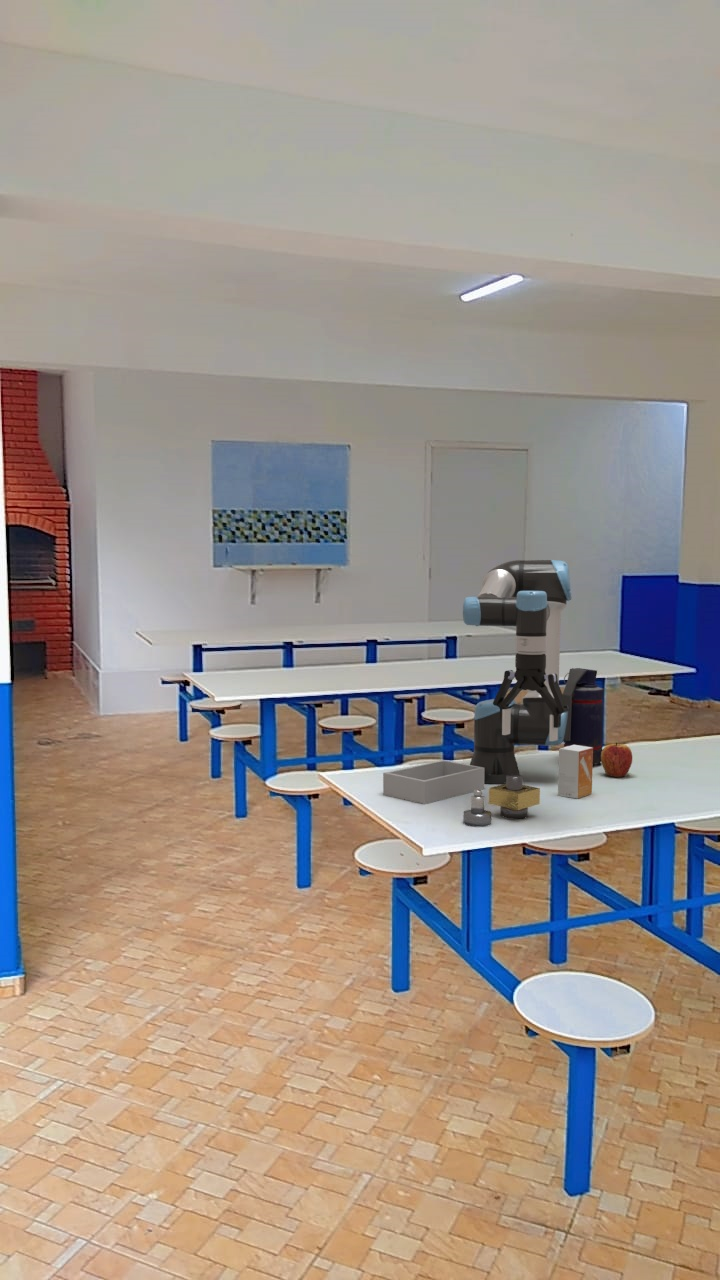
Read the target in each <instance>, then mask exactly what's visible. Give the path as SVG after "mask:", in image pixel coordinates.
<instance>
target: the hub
mask: <svg viewBox="0 0 720 1280" xmlns="http://www.w3.org/2000/svg"><path fill="white" fill-rule="evenodd" d="M492 814H493V813H492V812H491V811H489V810H486V809H485V796H484V795H482V790H474V792H473V794H472V795H471V797H470V809H466V810H464V811H463V815H462V817H463V822H462V823H463V824H464V825H466V826H469V825H470V827H476V826H482V827H489V826H491V825H492V817H493V816H492ZM488 825H489V826H488Z"/></svg>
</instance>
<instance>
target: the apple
mask: <svg viewBox="0 0 720 1280" xmlns="http://www.w3.org/2000/svg"><path fill="white" fill-rule="evenodd" d="M632 763H633V754H632V750H631V748H630V746H628V745H627V744H624V743H623V744H618V742H615V743H611V744H610V743H609V744H607V745H605V746H604V747H602V752H601V765H602V768H603V769H604V770H603V771H604V772H605V774H607V775H608V776H611V777H614V778H615V777H616V778H622V777H625V776H626V775H628V773H629V772H630V768H631V766H632Z"/></svg>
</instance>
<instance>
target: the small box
mask: <svg viewBox="0 0 720 1280" xmlns="http://www.w3.org/2000/svg"><path fill="white" fill-rule="evenodd" d="M593 765H594V764H593V747H586V746H579V745H571V746H567V747H564V746H563V747H561V748H559V749H558V771H557V773H558V775H557V776H558V778H557V779H558V781H557V796H558V797H559V796H561V797H566V798H572V799H581V798H584V797H585V796H586V797H587V796H589V795H592V794H593V767H594V766H593Z"/></svg>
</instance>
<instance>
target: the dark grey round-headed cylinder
mask: <svg viewBox="0 0 720 1280" xmlns="http://www.w3.org/2000/svg"><path fill="white" fill-rule="evenodd" d="M523 778H524V777H523V775H521V774H520V775H507V776H506V783H505V784H506V789H507V790H512V791H520V790H522V789H523V785H524V783H523ZM499 809H500V810H499V814H500V817H501V818H504V819H508V820H510V819H511V820H523V819H526V818H528V817H529V807H527V808H524V809H520V810H515V809H510V808H506V807H501V806H499Z"/></svg>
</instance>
